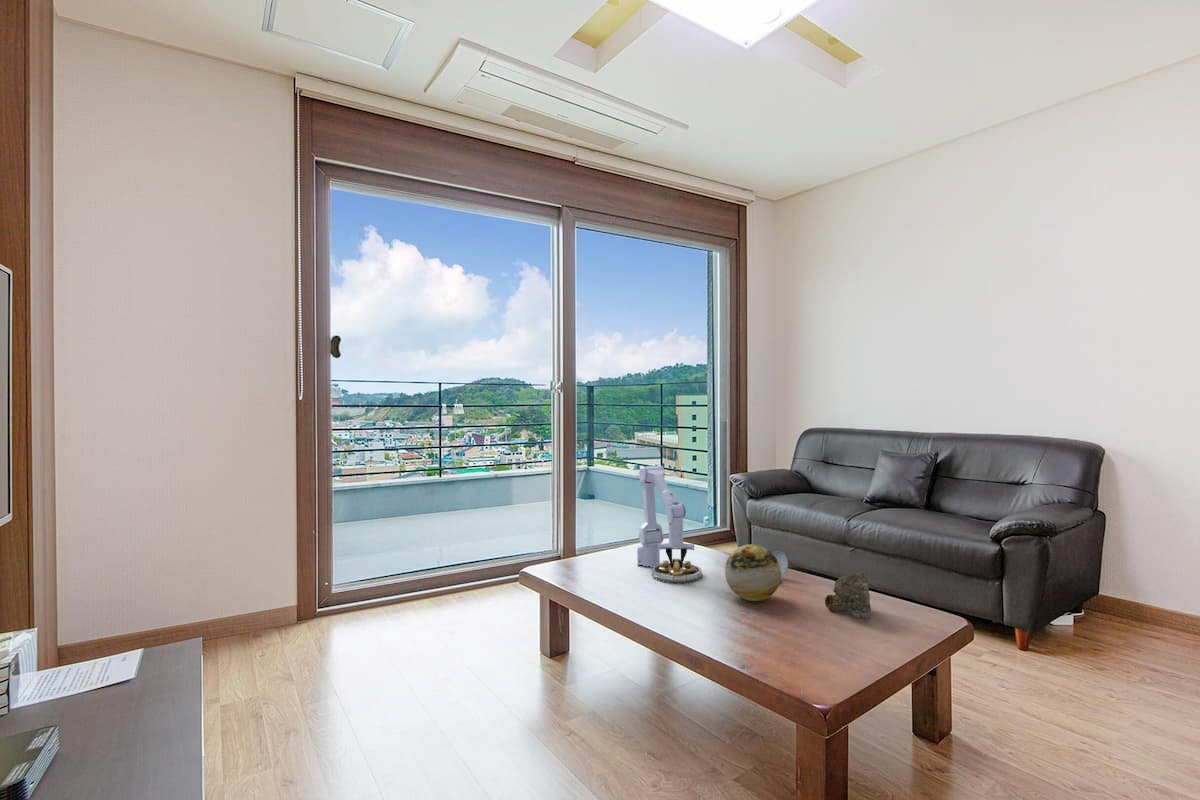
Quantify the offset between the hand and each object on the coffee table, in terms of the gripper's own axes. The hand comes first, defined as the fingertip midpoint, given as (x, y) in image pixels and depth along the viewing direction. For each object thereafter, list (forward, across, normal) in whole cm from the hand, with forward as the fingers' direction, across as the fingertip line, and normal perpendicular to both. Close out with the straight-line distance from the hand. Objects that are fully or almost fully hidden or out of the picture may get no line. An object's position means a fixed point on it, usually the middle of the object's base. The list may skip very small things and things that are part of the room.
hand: (676, 567), depth 247 cm
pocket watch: (+6, +36, +2) cm, 37 cm away
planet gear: (+3, 0, 0) cm, 3 cm away
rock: (+5, +58, -34) cm, 68 cm away
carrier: (+5, 0, +5) cm, 7 cm away
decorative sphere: (+5, +28, -22) cm, 36 cm away
